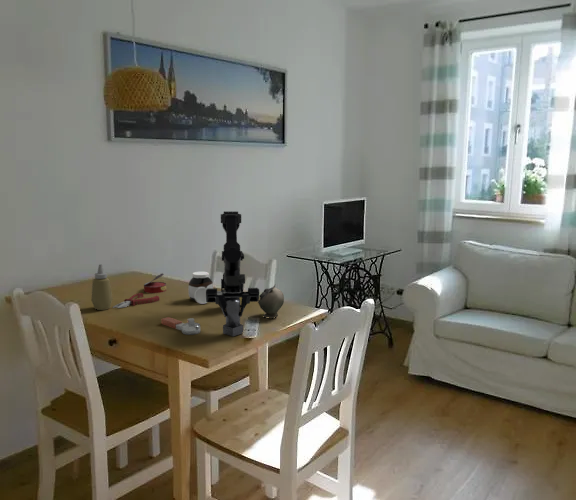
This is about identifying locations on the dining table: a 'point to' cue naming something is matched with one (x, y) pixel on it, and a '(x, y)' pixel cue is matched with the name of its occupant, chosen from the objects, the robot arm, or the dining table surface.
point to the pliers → (138, 301)
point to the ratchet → (182, 325)
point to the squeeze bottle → (101, 290)
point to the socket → (232, 318)
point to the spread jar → (199, 286)
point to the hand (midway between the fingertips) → (233, 316)
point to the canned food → (155, 286)
